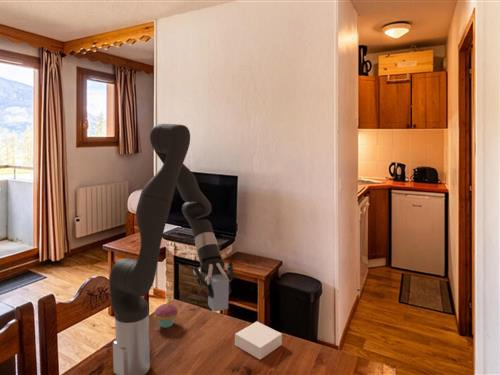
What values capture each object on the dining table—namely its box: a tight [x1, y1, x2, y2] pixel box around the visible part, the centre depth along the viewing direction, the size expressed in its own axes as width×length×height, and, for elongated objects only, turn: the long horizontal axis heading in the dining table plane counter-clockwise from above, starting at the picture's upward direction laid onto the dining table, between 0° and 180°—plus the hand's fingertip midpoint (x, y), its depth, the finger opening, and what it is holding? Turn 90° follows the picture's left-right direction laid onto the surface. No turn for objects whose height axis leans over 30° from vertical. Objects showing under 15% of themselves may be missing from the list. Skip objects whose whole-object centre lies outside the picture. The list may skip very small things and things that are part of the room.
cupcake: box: [153, 290, 179, 329], centre depth 126 cm, size 9×8×12 cm
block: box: [207, 274, 230, 312], centre depth 114 cm, size 5×5×10 cm
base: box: [234, 321, 283, 361], centre depth 116 cm, size 11×11×4 cm
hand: (220, 295), depth 112 cm, fingers closed on block, 5 cm apart
